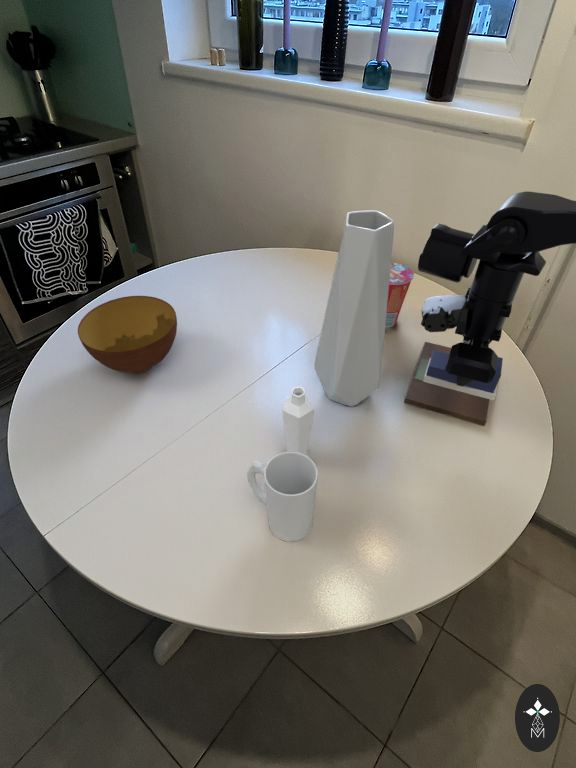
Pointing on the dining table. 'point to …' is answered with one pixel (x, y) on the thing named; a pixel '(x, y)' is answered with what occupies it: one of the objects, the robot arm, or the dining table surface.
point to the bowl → (129, 332)
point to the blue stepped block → (444, 379)
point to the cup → (397, 291)
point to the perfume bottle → (297, 420)
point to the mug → (287, 493)
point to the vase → (356, 309)
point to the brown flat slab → (443, 393)
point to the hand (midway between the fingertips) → (462, 375)
